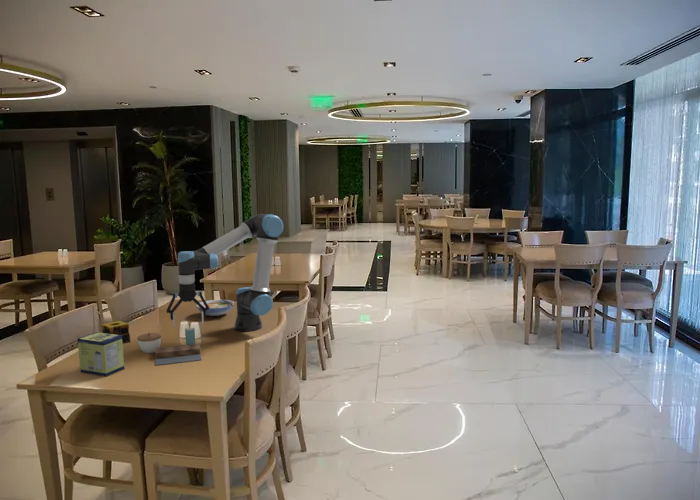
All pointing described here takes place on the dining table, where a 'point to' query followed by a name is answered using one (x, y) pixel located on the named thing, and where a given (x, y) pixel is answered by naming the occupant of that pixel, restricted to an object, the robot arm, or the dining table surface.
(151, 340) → the lidded jar
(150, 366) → the dining table surface
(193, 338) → the block
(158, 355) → the ledge
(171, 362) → the mat
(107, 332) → the black yellow box
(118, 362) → the protein box
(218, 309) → the ramen bowl
